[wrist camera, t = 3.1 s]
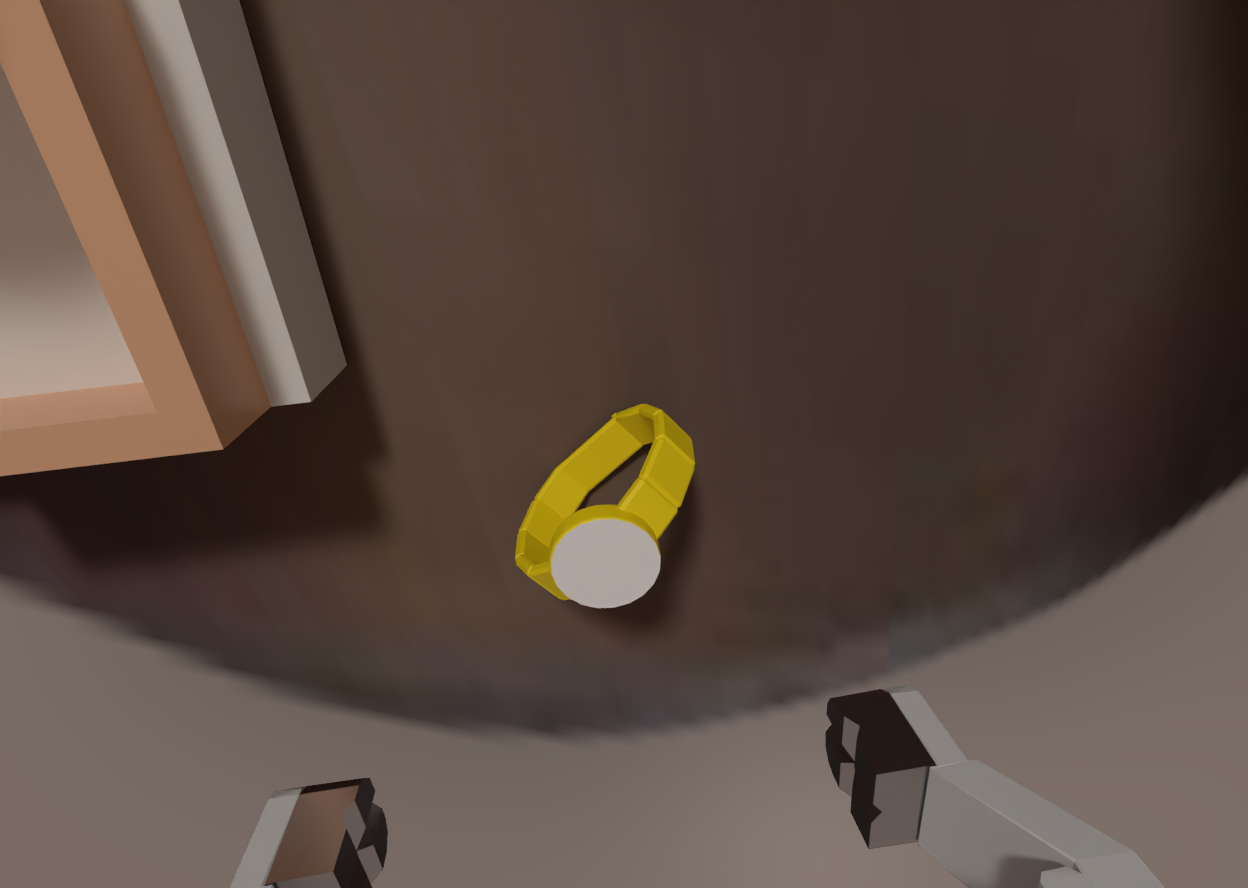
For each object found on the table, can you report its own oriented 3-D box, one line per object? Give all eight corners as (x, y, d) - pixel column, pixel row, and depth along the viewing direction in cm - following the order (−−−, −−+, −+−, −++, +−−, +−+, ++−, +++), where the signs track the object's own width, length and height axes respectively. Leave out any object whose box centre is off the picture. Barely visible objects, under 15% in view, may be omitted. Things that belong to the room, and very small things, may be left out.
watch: (633, 364, 19) (662, 446, 14) (691, 421, 20) (739, 517, 15) (504, 488, 21) (485, 605, 15) (564, 535, 22) (566, 661, 16)
